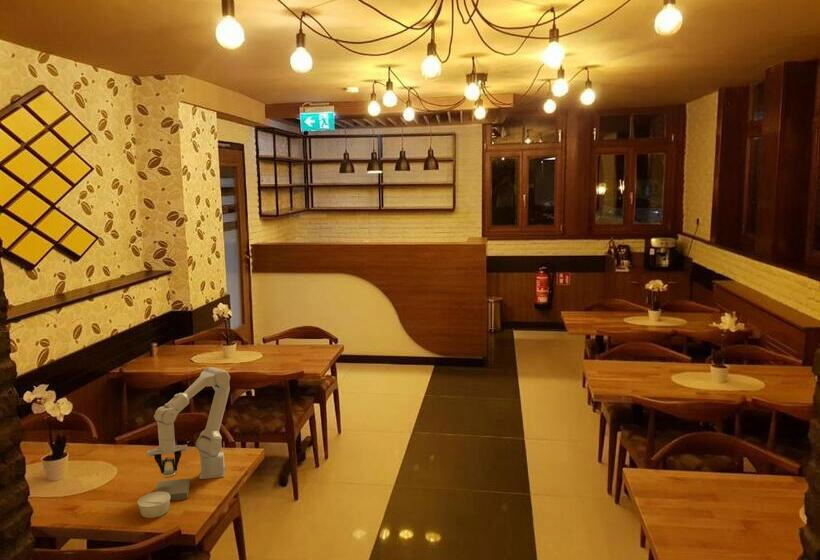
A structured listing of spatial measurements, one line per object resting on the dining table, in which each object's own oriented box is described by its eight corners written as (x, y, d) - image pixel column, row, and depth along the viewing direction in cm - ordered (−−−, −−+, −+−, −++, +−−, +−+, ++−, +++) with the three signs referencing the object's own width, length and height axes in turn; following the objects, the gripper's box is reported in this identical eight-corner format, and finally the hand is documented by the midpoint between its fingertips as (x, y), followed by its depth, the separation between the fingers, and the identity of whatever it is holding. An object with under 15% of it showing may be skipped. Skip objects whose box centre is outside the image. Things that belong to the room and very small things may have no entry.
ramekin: (138, 522, 226) (137, 509, 225) (138, 508, 236) (137, 494, 235) (172, 516, 230) (171, 502, 230) (170, 501, 240) (169, 488, 240)
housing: (175, 470, 251) (174, 454, 250) (177, 475, 246) (176, 459, 245) (161, 473, 248) (160, 457, 247) (162, 478, 244) (161, 462, 243)
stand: (190, 484, 254) (190, 478, 254) (187, 498, 242) (186, 492, 242) (158, 487, 251) (158, 481, 251) (153, 502, 240) (153, 496, 239)
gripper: (186, 431, 251) (188, 463, 253) (146, 436, 246) (148, 470, 248) (187, 437, 245) (189, 471, 247) (146, 443, 239) (148, 477, 241)
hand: (169, 471), depth 247 cm, fingers closed on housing, 4 cm apart
